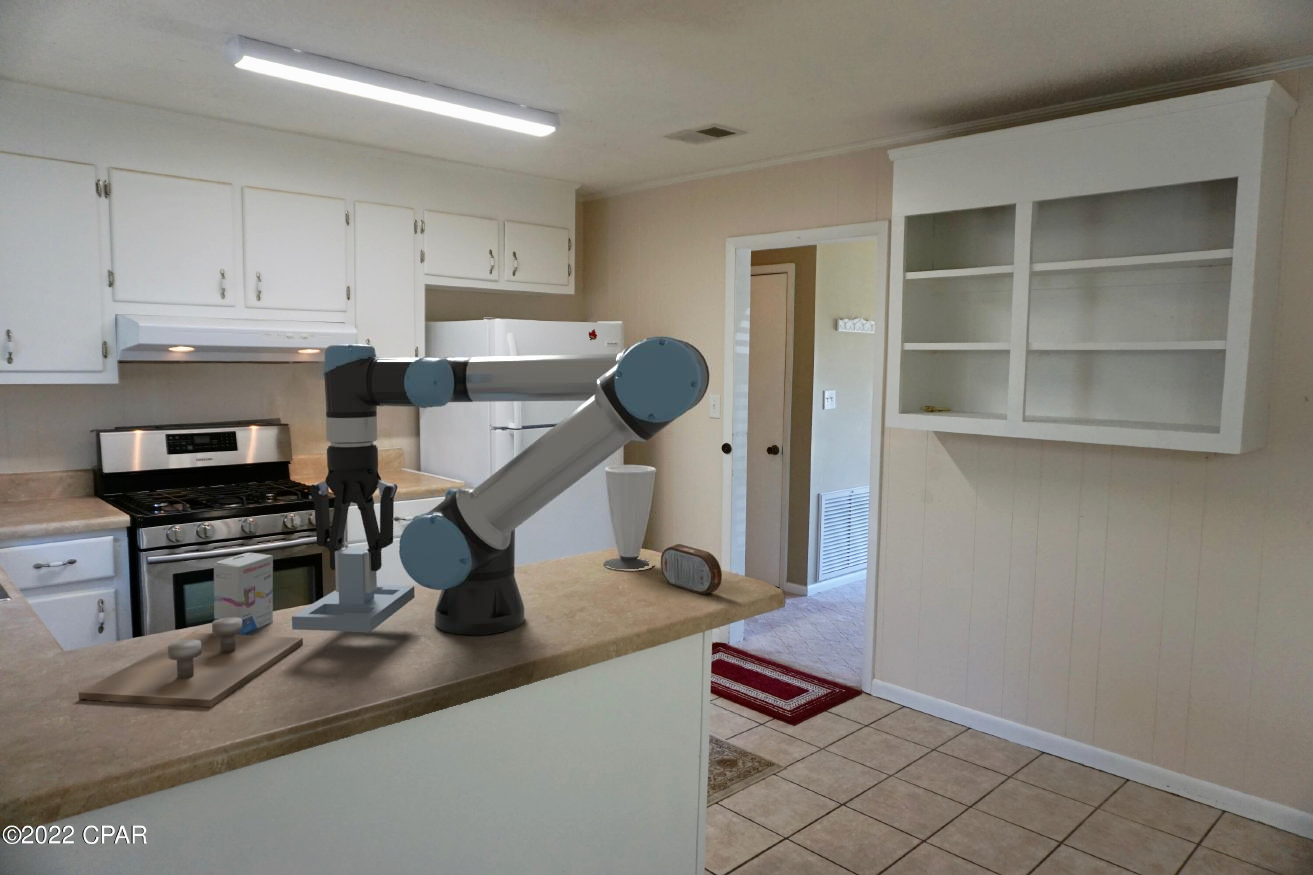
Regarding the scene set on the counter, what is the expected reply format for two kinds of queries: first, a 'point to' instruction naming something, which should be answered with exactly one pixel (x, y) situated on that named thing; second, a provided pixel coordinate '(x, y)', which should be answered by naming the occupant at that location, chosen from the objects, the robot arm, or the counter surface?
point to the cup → (629, 511)
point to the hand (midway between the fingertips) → (356, 589)
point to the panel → (353, 612)
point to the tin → (691, 569)
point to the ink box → (244, 590)
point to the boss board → (195, 668)
